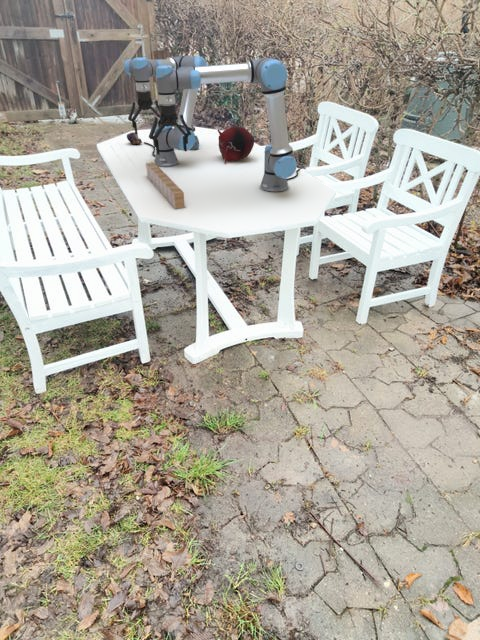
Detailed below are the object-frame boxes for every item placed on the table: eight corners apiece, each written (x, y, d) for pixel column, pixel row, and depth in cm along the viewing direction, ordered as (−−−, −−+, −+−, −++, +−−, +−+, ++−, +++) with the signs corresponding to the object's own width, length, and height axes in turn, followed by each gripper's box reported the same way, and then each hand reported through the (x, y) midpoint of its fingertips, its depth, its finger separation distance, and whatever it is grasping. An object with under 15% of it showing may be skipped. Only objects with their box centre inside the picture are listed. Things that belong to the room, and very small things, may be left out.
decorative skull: (215, 132, 306) (215, 129, 282) (249, 124, 305) (251, 121, 281) (222, 164, 313) (222, 164, 289) (255, 157, 312) (258, 156, 288)
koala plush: (199, 150, 322) (197, 120, 311) (174, 150, 321) (171, 121, 310) (199, 144, 336) (197, 116, 325) (175, 144, 335) (172, 116, 324)
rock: (138, 143, 345) (126, 144, 341) (137, 131, 341) (124, 132, 337) (143, 144, 336) (130, 145, 331) (141, 131, 332) (128, 132, 328)
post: (147, 176, 272) (145, 163, 267) (155, 175, 273) (153, 162, 269) (175, 209, 227) (173, 193, 222) (184, 207, 228) (183, 192, 224)
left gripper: (121, 93, 234) (127, 136, 246) (167, 90, 242) (171, 131, 254) (118, 91, 240) (124, 133, 252) (164, 88, 248) (167, 129, 260)
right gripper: (142, 107, 198) (148, 157, 210) (195, 103, 206) (198, 151, 219) (138, 105, 204) (144, 153, 216) (190, 101, 212) (193, 147, 224)
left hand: (148, 132), depth 253 cm, fingers open, 13 cm apart
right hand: (171, 152), depth 217 cm, fingers open, 13 cm apart
